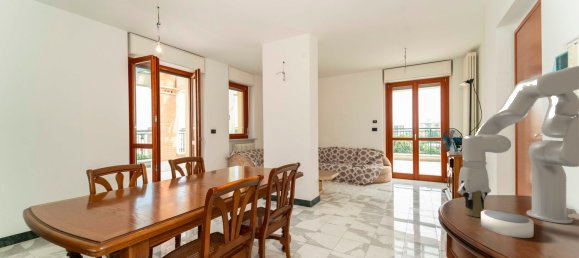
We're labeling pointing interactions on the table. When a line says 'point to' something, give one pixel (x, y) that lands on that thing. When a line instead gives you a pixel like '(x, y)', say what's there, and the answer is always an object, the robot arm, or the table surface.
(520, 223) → the podium
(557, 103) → the robot arm
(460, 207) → the table surface
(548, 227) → the table surface
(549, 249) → the table surface
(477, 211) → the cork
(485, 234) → the table surface
